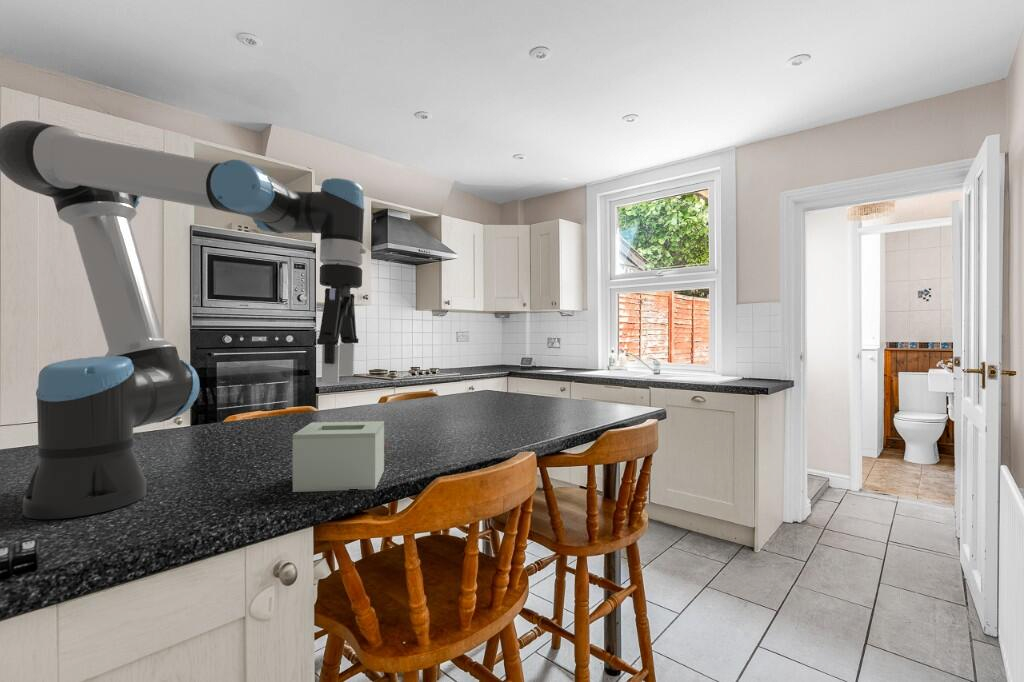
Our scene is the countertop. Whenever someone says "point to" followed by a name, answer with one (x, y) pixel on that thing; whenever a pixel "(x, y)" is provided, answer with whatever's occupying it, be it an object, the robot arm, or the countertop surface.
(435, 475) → the countertop surface
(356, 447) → the coin box
